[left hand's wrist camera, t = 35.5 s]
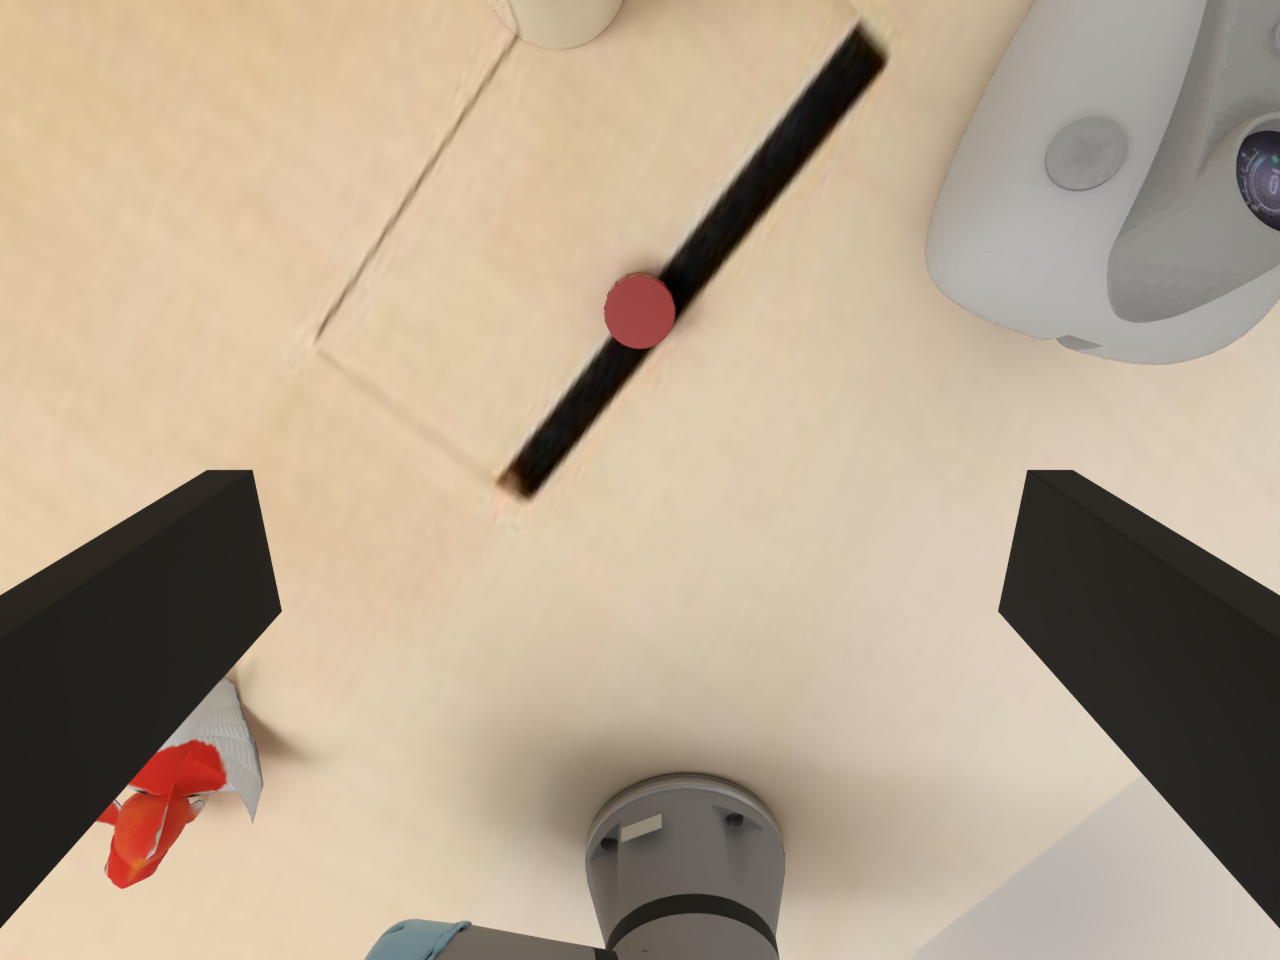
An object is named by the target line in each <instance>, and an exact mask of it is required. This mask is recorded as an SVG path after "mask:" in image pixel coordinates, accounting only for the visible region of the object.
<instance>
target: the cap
mask: <svg viewBox="0 0 1280 960" xmlns="http://www.w3.org/2000/svg"><path fill="white" fill-rule="evenodd" d="M607 297H608V298H607V301H606V304H605V307H604V310H605V323H606V324H607V327H608V329H609V331H610V333H611V334H612V335H613V337H614V338H615V339H616V340H618V341H619V342H620V343H622V344H623V345H625V346H628V347H631V348H637V349H642V348H649V347H652V346H654V345H656V344H658V343H659V342H661V341H662V340H663V339H664V338H665V337H666V336H667V335H668V334H669V332H670V330H671V328H672V326H673V323H674V319H675V310H676V308H675V305H674V302H673V299H672V297H673V296H672V294H671V291H670V292H669V290H668V288H667V287H666V285H665V284H664V282H663V281H661V280H659V279H658V278H656V277H654V276H653V275H650V274H645V273H641V272H639V273H634V274H630V275H628V274H627V275H626V276H625V277H623V278H622V279H620V280H619V281H618V282H617V281H616V283H615V285H614V286H613V288H612V289H611V291H610V292H608V295H607Z"/></svg>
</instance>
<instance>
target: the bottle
mask: <svg viewBox="0 0 1280 960" xmlns="http://www.w3.org/2000/svg"><path fill="white" fill-rule="evenodd" d="M622 1H623V0H487V2H488V3H489V4H490V6H491V7H492V8H493V10H494V11H495V12H496V14H497V15H498V17H499V18H500V19H501V20H502V22H503V23H504V24H505V25H506V26H507V27H508V28H509V29H510V30H511V31H512V32H513V33H514V34H515V35H517V36H518V37H520V38H521V39H523V40H524V41H526V42H528V43H530V44H532V45H535V46H538V47H541V48H545V49H550V50H564V49H571V48H575V47H578V46H581V45H583V44H585V43H587V42H589V41H591V40H592V39H594V38H595V37H597V36H598V35H599V34H600V33H601V32H603V31H604V30H605V28H606V27H607V26H608V25H609V24H610V23H611V21H612V20H613V18H614V17H615V16H616V14H617V12H618V10H619V8H620V6H621V4H622Z"/></svg>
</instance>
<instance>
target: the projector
mask: <svg viewBox="0 0 1280 960" xmlns="http://www.w3.org/2000/svg"><path fill="white" fill-rule="evenodd" d="M925 260H926V266H927V269H928V272H929V275H930V277H931V279H932V280H933V282H934V283H935V285H936V286H937V287H938V288H939V290H940V291H941V292H942V293H943V294H945V295H946V296H947V297H948V298H949V299H950V300H952V301H953V302H955V303H956V304H958V305H959V306H961V307H962V308H964V309H966V310H967V311H969V312H971V313H972V314H974V315H977V316H979V317H981V318H983V319H985V320H987V321H989V322H992V323H994V324H996V325H999V326H1002V327H1004V328H1007V329H1010V330H1013V331H1015V332H1018V333H1021V334H1024V335H1027V336H1030V337H1033V338H1037V339H1054V338H1056V339H1057V340H1058V342H1059V343H1060V344H1061V345H1063V346H1064V347H1066V348H1068V349H1072V350H1075V351H1079V352H1082V353H1086V354H1089V355H1093V356H1097V357H1101V358H1105V359H1110V360H1115V361H1120V362H1126V363H1135V364H1145V365H1165V364H1174V363H1179V362H1184V361H1188V360H1192V359H1197V358H1200V357H1203V356H1206V355H1209V354H1212V353H1214V352H1216V351H1218V350H1220V349H1222V348H1224V347H1226V346H1228V345H1230V344H1231V343H1233V342H1234V341H1236V340H1237V339H1239V338H1240V337H1242V336H1244V335H1245V334H1246V333H1247V332H1248V331H1249V330H1250V329H1252V328H1253V327H1254V326H1255V325H1256V324H1257V323H1258V322H1260V321H1261V320H1262V318H1263V317H1264V316H1265V315H1266V314H1267V313H1268V312H1269V311H1270V309H1271V308H1272V307H1273V306H1274V305H1275V304H1276V303H1277V301H1278V300H1279V299H1280V0H1035V1H1034V3H1033V4H1032V6H1031V8H1030V9H1029V11H1028V13H1027V14H1026V16H1025V18H1024V20H1023V21H1022V23H1021V25H1020V26H1019V28H1018V30H1017V32H1016V33H1015V35H1014V37H1013V39H1012V40H1011V42H1010V44H1009V45H1008V47H1007V49H1006V51H1005V53H1004V55H1003V57H1002V58H1001V60H1000V62H999V64H998V66H997V68H996V70H995V72H994V74H993V76H992V77H991V79H990V81H989V83H988V85H987V87H986V89H985V91H984V93H983V95H982V97H981V99H980V101H979V103H978V105H977V107H976V110H975V112H974V114H973V116H972V118H971V120H970V122H969V124H968V127H967V129H966V131H965V133H964V135H963V137H962V140H961V142H960V144H959V147H958V149H957V151H956V154H955V156H954V158H953V160H952V163H951V165H950V167H949V170H948V173H947V175H946V178H945V180H944V183H943V185H942V188H941V190H940V193H939V196H938V199H937V202H936V205H935V208H934V211H933V214H932V218H931V221H930V225H929V229H928V233H927V240H926V247H925Z"/></svg>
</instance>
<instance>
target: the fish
mask: <svg viewBox="0 0 1280 960" xmlns="http://www.w3.org/2000/svg"><path fill="white" fill-rule="evenodd" d="M127 787H129V788H131V789H133V790H136V791H138V793H136V794H134V795H133V796H131V797H130V798H129V799H128V800H127V801H126V802H125V803H124V804H123V805H122V806H121V805H120V804H119V803H118V802H117V801H116V800H114V801H113V802H112V803H111V804H110V805H109V807H108V808H107V809H106V810H105V811H104V812H103V813H102V814H101V816H100V817H99V818H98V819H97V820H96V821H97V822H102V823H107V824H110V825H113V826H115V832H114V835H113V838H112V842H111V851H110V855H109V858H108V861H107V863H106V865H105V874H106V875H107V876H108V877H109V878H110V879H111V881H112V882H113V884H114V885H116V886H118V887H119V888H121V889H124V888H126V887H129V886H131V885H133V884H135V883H137V882H139V881H141V880H144V879H146V878H148V877H150V876H151V875H152V874H153V873H154V872H155V871H156V870H157V867H158V865H159V863H160V862H161V861H162V859H163V858H164V856H165V855H166V853H167V851H168V849H169V848H170V847H171V846H172V845H173V843H174V842H175V841H176V839H177V838H178V837H179V835H180V834H181V832H182V830H183V828H184V826H185V825H186V824H187V823H190V822H192V821H193V820H194V819H195V818H196V816H197V815H198V814H199V813H200V812H201V810H202V809H203V808H204V806H205V802H203V801H202V800H198V801H196V802H194V803H193V804H191V805H190V803H189V799H188V798H190V797H194V796H199V795H203V794H207V793H212V792H216V791H237V792H238V794H239V795H240V797H241V798H242V800H243V801H244V803H245V805H246V807H247V809H248V811H249V814H250V816H251V820H252V824H253V820H254V817H255V813H256V809H257V806H258V802H259V798H260V795H261V791H262V787H263V780H262V774H261V768H260V762H259V755H258V749H257V746H256V743H255V741H254V738H253V735H252V733H251V730H250V728H249V725H248V723H247V720H246V718H245V715H244V713H243V710H242V708H241V706H240V701H239V697H238V693H237V691H236V688H235V686H234V684H233V683H232V682H231V680H229V679H227V678H222V679H221V680H220V682H219V683H218V684H217V685H216V686H215V687H214V688H213V689H212V691H211V692H210V693H209V694H208V695H207V696H206V697H205V698H204V700H203V701H202V702H201V703H200V704H199V705H198V706H197V707H196V709H195V710H194V711H193V712H192V713H191V714H190V715H189V716H188V718H187V719H186V720H185V721H184V722H183V723H182V724H181V725H180V727H179V728H178V729H177V730H176V731H175V732H174V733H173V734H172V736H171V737H170V738H169V739H168V740H167V741H166V742H165V743H164V745H163V746H162V747H161V748H160V749H159V750H158V751H157V752H156V754H155V755H154V756H153V757H152V758H151V759H150V760H149V761H148V763H147V764H146V765H145V766H144V767H143V768H142V769H141V771H140V772H139V773H138V774H137V775H136V776H135V777H134V778H133V780H132V781H131V782H130V783H129V784H128V785H127Z"/></svg>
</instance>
